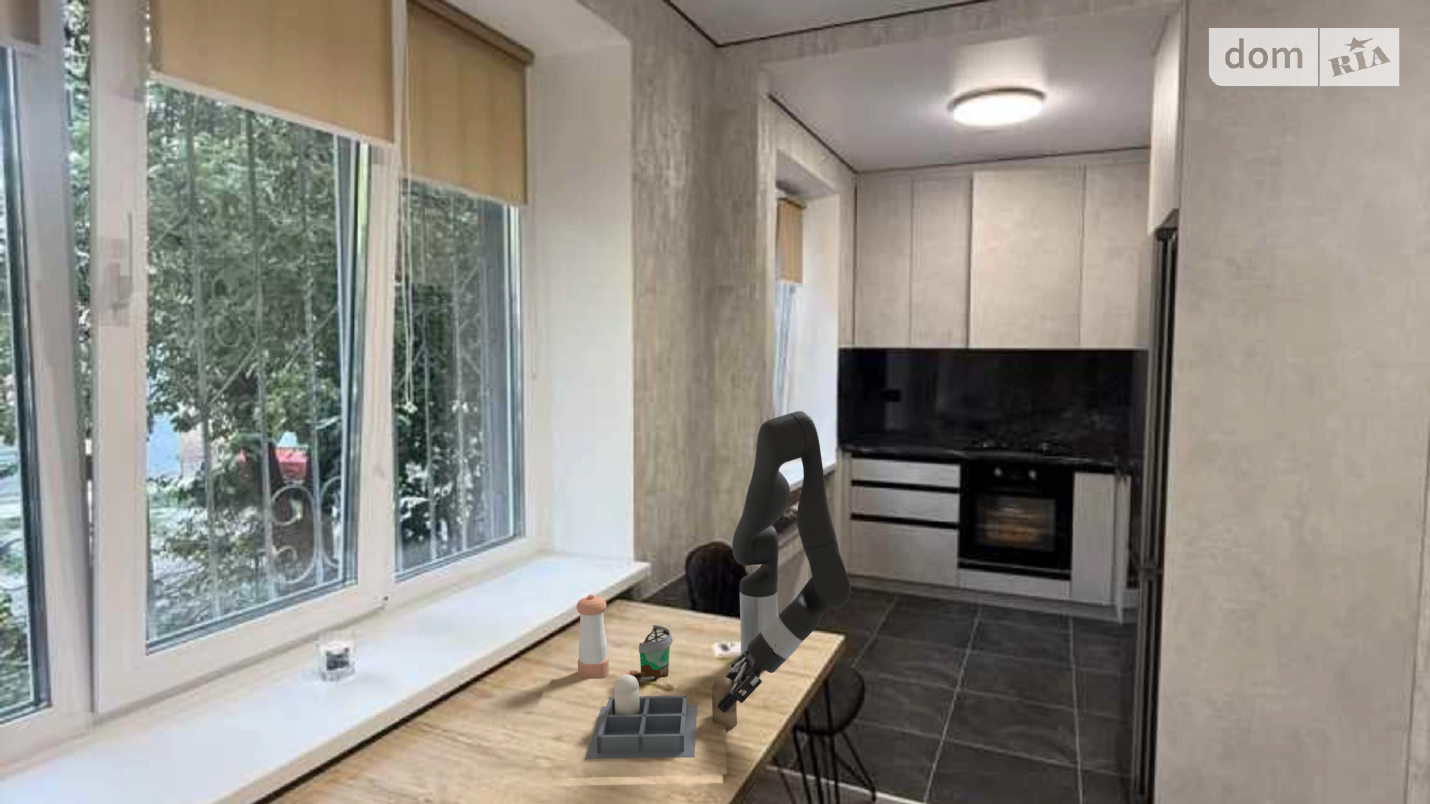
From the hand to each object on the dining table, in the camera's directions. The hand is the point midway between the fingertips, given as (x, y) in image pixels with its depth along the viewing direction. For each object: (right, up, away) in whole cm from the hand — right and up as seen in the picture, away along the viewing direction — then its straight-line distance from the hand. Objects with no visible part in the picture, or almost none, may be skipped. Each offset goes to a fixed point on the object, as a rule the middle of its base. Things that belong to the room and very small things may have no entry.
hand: (720, 699), depth 153 cm
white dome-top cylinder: (-19, -5, 0) cm, 20 cm away
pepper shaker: (-30, -4, +26) cm, 40 cm away
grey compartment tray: (-15, -6, -3) cm, 17 cm away
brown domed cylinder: (+1, -5, 0) cm, 5 cm away
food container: (-14, -4, +23) cm, 28 cm away
